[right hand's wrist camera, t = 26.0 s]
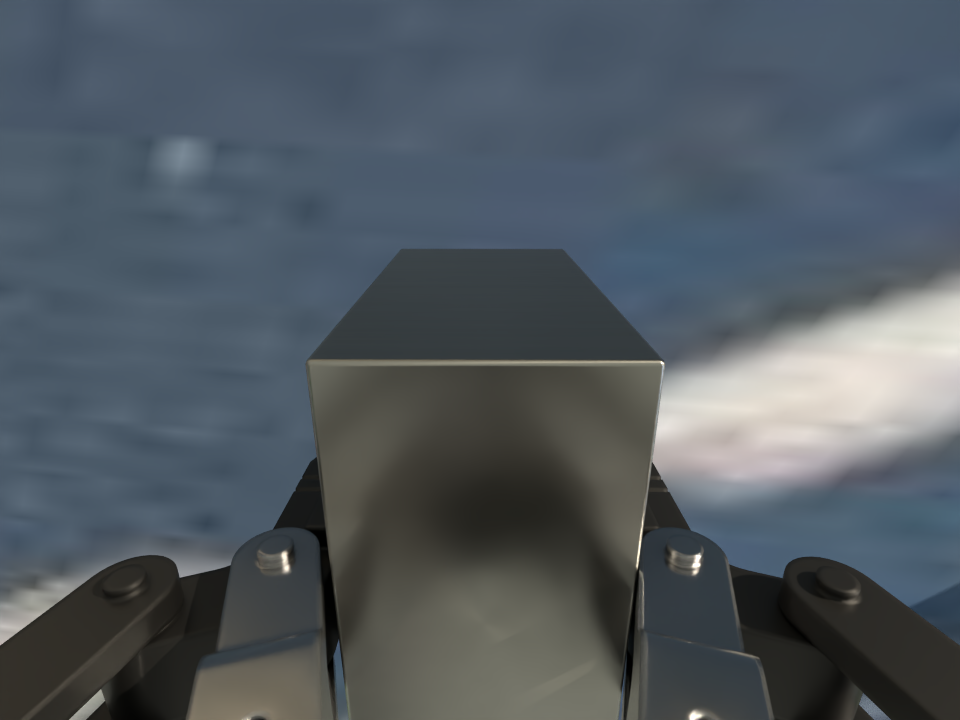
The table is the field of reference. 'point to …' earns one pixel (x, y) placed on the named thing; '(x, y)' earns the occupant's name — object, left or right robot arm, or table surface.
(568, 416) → the block
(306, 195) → the table surface
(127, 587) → the right robot arm
